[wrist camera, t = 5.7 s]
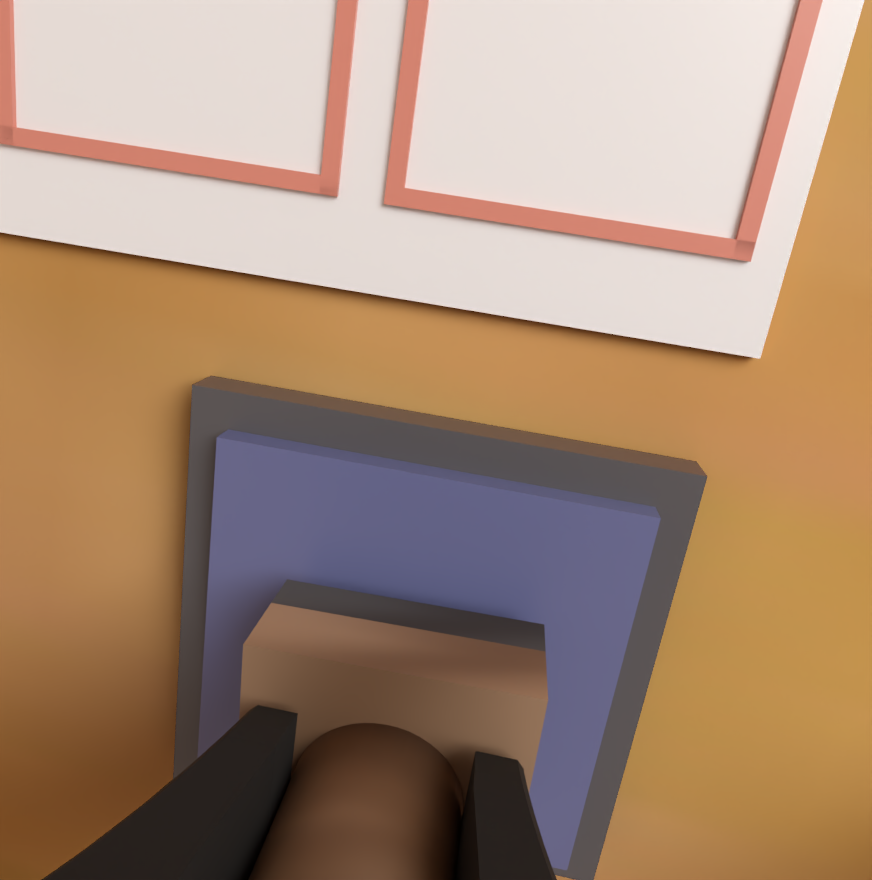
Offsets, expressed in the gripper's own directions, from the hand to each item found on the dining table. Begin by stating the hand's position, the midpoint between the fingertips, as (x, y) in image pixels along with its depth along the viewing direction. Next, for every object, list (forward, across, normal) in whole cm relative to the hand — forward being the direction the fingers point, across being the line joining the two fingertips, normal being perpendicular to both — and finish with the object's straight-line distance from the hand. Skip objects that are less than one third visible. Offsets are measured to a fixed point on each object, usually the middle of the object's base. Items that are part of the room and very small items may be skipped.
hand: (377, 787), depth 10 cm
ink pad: (+4, 0, 0) cm, 4 cm away
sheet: (+4, +2, -11) cm, 12 cm away
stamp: (+2, 0, 0) cm, 2 cm away
